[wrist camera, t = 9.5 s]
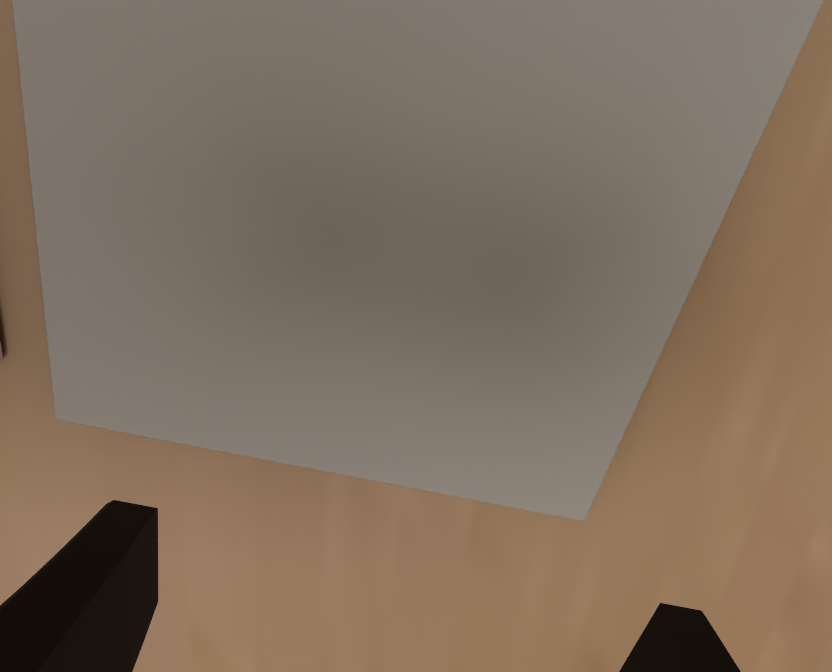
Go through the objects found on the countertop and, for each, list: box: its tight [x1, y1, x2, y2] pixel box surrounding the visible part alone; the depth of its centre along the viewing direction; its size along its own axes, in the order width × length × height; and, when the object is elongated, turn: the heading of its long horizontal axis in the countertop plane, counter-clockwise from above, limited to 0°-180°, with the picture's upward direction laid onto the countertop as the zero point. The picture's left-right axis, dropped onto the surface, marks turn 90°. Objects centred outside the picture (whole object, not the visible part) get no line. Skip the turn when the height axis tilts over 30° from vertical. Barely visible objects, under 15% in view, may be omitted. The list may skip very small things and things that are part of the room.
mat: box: [12, 0, 824, 521], centre depth 18 cm, size 17×17×1 cm
